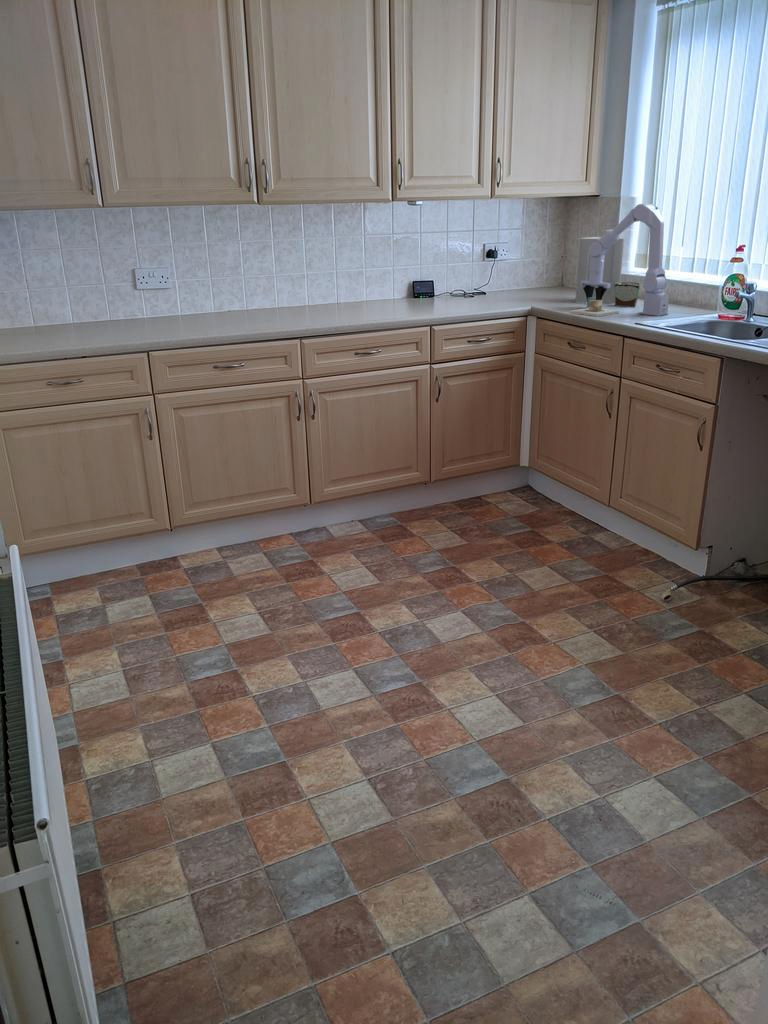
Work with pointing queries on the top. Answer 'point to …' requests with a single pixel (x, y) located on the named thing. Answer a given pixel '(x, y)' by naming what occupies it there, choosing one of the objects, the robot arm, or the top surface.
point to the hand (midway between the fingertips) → (593, 303)
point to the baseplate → (594, 312)
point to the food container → (626, 293)
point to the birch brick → (595, 305)
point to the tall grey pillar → (609, 270)
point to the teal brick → (590, 299)
